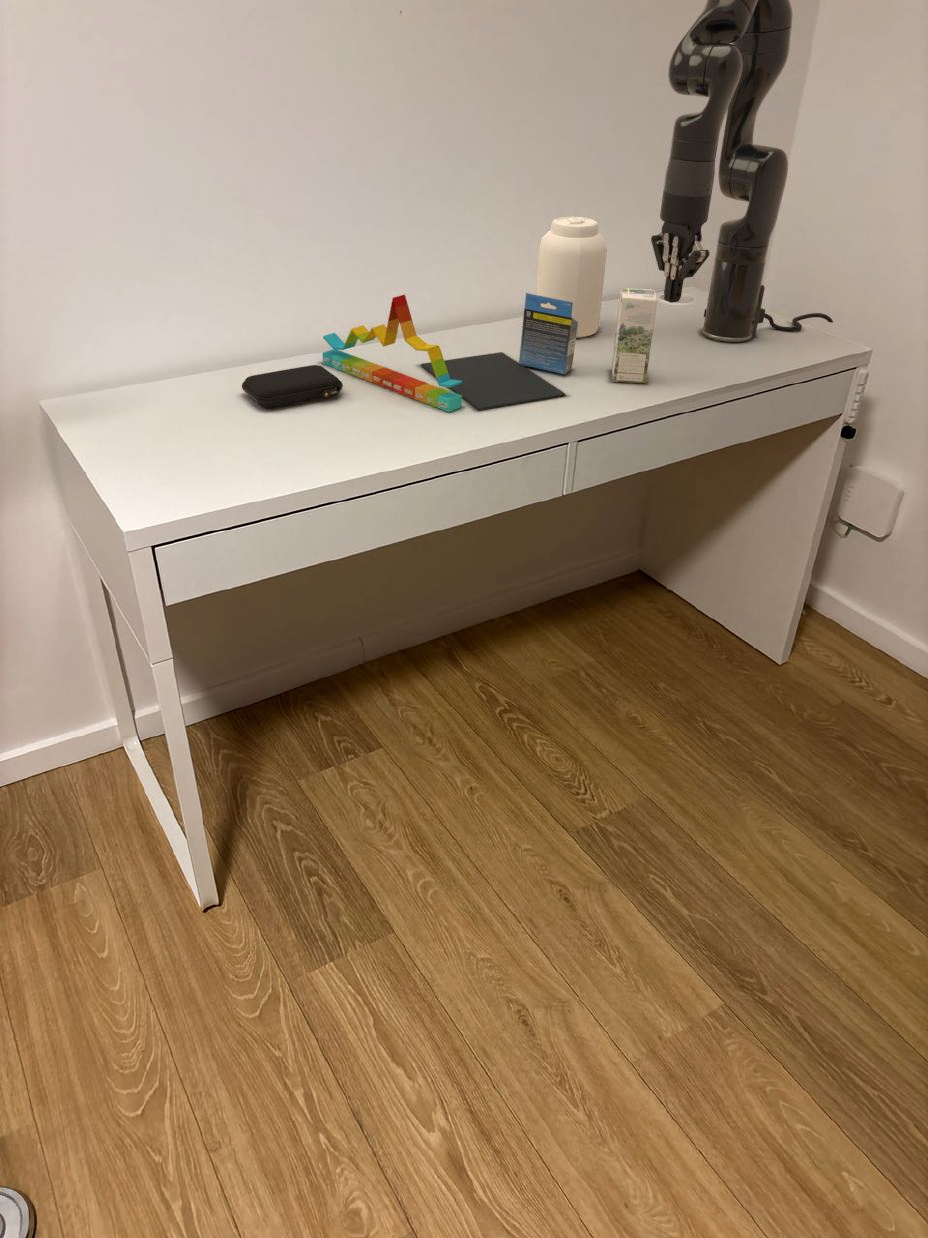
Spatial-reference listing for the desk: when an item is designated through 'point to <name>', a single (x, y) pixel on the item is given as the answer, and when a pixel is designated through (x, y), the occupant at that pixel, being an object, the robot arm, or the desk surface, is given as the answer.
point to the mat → (496, 381)
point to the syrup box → (634, 335)
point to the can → (574, 269)
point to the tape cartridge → (548, 335)
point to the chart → (390, 377)
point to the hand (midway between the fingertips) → (671, 300)
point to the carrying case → (292, 386)
